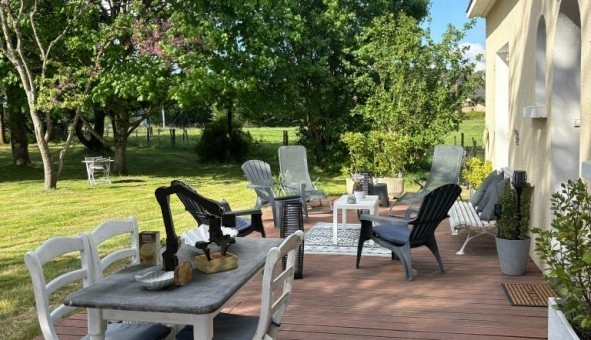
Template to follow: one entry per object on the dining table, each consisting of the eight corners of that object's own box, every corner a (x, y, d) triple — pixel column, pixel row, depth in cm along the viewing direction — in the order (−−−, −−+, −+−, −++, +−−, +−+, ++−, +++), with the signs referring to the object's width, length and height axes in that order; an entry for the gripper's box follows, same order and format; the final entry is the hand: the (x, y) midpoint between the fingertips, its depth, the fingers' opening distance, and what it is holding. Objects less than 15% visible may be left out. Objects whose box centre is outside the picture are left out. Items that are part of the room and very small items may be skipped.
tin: (180, 288, 231) (179, 268, 230) (173, 287, 232) (172, 268, 231) (193, 277, 246) (192, 259, 245) (187, 277, 247) (186, 259, 246)
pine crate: (207, 273, 252) (206, 261, 251) (195, 268, 262) (194, 256, 262) (238, 267, 261) (237, 256, 260) (225, 262, 271) (225, 251, 271)
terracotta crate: (214, 269, 256) (214, 258, 256) (207, 266, 263) (206, 255, 263) (226, 267, 260) (225, 256, 259) (218, 263, 266) (217, 253, 266)
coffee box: (139, 265, 270) (137, 233, 268) (143, 262, 276) (142, 230, 275) (157, 265, 269) (155, 233, 267) (161, 262, 275) (160, 230, 274)
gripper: (204, 233, 248) (205, 267, 249) (240, 227, 258) (241, 260, 260) (193, 229, 257) (195, 262, 258) (229, 224, 268) (230, 256, 269)
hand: (216, 260), depth 261 cm, fingers open, 7 cm apart
